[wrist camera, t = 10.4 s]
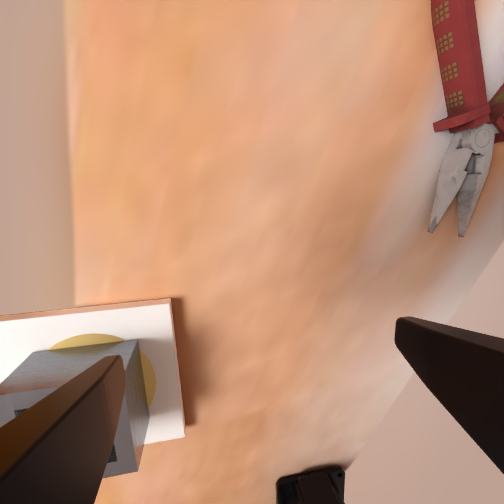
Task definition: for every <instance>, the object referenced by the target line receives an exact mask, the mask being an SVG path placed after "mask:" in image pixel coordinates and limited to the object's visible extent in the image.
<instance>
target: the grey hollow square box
mask: <svg viewBox="0 0 504 504" xmlns="http://www.w3.org/2000/svg"><path fill="white" fill-rule="evenodd" d="M117 354H118V355H121V356H122V359H123V365H124V371H125V377H126V388H125V393H124V397H123V402H122V407H121V412H120V417H119V421H118V426H117V431H116V435H115V440H114V443H113V446H112V450H111V453H110V456H109V459H108V462H107V465H106V468H105V471H104V474H103V478H107V477H112V476H117V475H122V474H127V473H132V472H137V471H138V469H139V464H140V460H141V455H142V451H143V446H144V442H145V437H146V433H147V428H148V423H149V419H150V416H149V410H148V403H147V396H146V390H145V383H144V376H143V369H142V363H141V356H140V349H139V343H138V339H134V340H126V341H118V342H110V343H102V344H93V345H85V346H77V347H69V348H61V349H53V350H45V351H37V352H32V353H31V354H30V355H29V356H28V357H27V358H26V359H25V360H24V361H23V362H22V363H21V364H20V365H19V366H18V367H17V368H16V369H15V370H14V371H13V372H12V373H11V374H10V375H9V376H8V377H7V378H6V379H5V380H4V381H3V382H2V383H1V384H0V427H2V426H3V425H5V424H6V423H8V422H9V421H11V420H12V419H14V418H15V417H16V416H18V415H19V414H21V413H22V412H24V411H25V410H27V409H28V408H30V407H31V406H33V405H34V404H36V403H37V402H39V401H40V400H42V399H43V398H45V397H46V396H47V395H49V394H50V393H52V392H53V391H55V390H56V389H58V388H59V387H61V386H62V385H64V384H65V383H67V382H68V381H70V380H71V379H73V378H74V377H76V376H77V375H78V374H80V373H81V372H83V371H84V370H86V369H87V368H89V367H90V366H92V365H93V364H95V363H96V362H98V361H99V360H101V359H102V358H104V357H105V356H110V355H117Z"/></svg>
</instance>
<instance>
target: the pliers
mask: <svg viewBox="0 0 504 504" xmlns="http://www.w3.org/2000/svg"><path fill="white" fill-rule="evenodd" d="M431 13H432V24H433V31H434V37H435V43H436V49H437V55H438V60H439V66H440V72H441V78H442V84H443V90H444V96H445V101H446V107H447V113H448V117H447V118H444V119H442V120H440V121H437V122H435V123H433V126H434V131H435V132H437V131H441V130H445V129H449V131H450V133H454V132H455V134H454V136H453V138H452V140H451V143H450V145H449V148H448V150H447V152H446V155H445V157H444V160H443V163H442V165H441V169H440V172H439V177H438V182H437V187H436V192H435V197H434V202H433V207H432V213H431V218H430V223H429V228H428V232H430V233H433V231H434V229H435V228H436V226H437V224H438V223H439V221H440V220H441V218H442V216H443V215H444V213H445V211H446V210H447V208H448V207H449V205H450V203H451V202H452V200H453V199H454V197H455V195H456V194H457V200H458V236H459V237H464V234H465V232H466V229H467V227H468V224H469V222H470V219H471V217H472V214H473V211H474V209H475V206H476V204H477V201H478V199H479V196H480V194H481V191H482V189H483V186H484V183H485V181H486V178H487V175H488V172H489V168H490V164H491V159H492V153H493V146H494V143H496V142H503V141H504V83H503V85H502V86H501V87H500V88H499V90H498V91H497V92H496V94H495V95H494V96H493V97H492V99H491V100H490V101H489V103H487V95H486V88H485V80H484V73H483V65H482V58H481V50H480V43H479V35H478V28H477V20H476V13H475V5H474V0H431ZM466 166H467V168H466ZM465 169H466V170H465Z"/></svg>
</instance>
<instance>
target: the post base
mask: <svg viewBox="0 0 504 504" xmlns="http://www.w3.org/2000/svg"><path fill="white" fill-rule="evenodd" d="M134 339H138V343H139V349H140V356H141V363H142V369H143V376H144V383H145V390H146V396H147V403H148V410H149V416H150V419H149V423H148V428H147V433H146V437H145V442H144V444H149V443H154V442H160V441H165V440H171V439H176V438H182V437H185V418H184V409H183V401H182V392H181V383H180V375H179V366H178V357H177V348H176V340H175V331H174V322H173V314H172V305H171V298H166V299H156V300H146V301H136V302H127V303H117V304H107V305H98V306H88V307H78V308H70V309H69V308H68V309H59V310H50V311H40V312H30V313H20V314H11V315H2V316H0V383H2V382H3V381H4V380H5V379H6V378H7V377H8V376H9V375H10V374H11V373H12V372H13V371H14V370H15V369H16V368H17V367H18V366H19V365H20V364H21V363H22V362H23V361H24V360H25V359H26V358H27V357H28V356H29V355H30V354H31V353H32V352H37V351H45V350H53V349H61V348H69V347H77V346H85V345H93V344H102V343H110V342H118V341H126V340H134Z"/></svg>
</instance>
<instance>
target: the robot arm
mask: <svg viewBox="0 0 504 504" xmlns="http://www.w3.org/2000/svg"><path fill="white" fill-rule="evenodd" d="M395 344H396V346H397V348H398V349H399V351H400V352H401V353H402V355H403V356H404V357H405V359H406V360H407V362H408V363H409V364H410V366H411V367H412V368H413V370H414V371H415V372H416V374H417V375H418V376H419V378H420V379H421V380H422V382H423V383H424V384H425V385H426V387H427V388H428V389H429V390H430V391H431V392H432V394H433V395H434V396H435V397H436V398H437V399H438V400H439V401H440V403H441V404H442V405H443V406H444V407H445V408H446V409H447V410H448V412H449V413H450V414H451V415H452V416H453V417H454V418H455V420H456V421H457V422H458V423H459V424H460V425H461V426H462V428H463V429H464V430H465V431H466V432H467V433H468V434H469V435H470V437H471V438H472V439H473V440H474V441H475V442H476V443H477V445H478V446H479V447H480V448H481V449H482V450H483V451H484V452H485V453H486V455H487V456H488V457H489V458H490V459H491V460H492V461H493V463H494V464H495V465H496V466H497V467H498V468H499V469H500V471H501V472H502V473H503V474H504V339H503V338H499V337H494V336H490V335H486V334H482V333H478V332H473V331H469V330H465V329H461V328H457V327H452V326H448V325H444V324H440V323H435V322H431V321H427V320H423V319H419V318H414V317H400V318H398V319H397V321H396V328H395ZM125 388H126V377H125V371H124V365H123V359H122V356H121V355H118V354H117V355H110V356H105V357H104V358H102V359H101V360H99V361H98V362H96V363H95V364H93V365H92V366H90V367H89V368H87V369H86V370H84V371H83V372H81V373H80V374H78V375H77V376H76V377H74V378H73V379H71V380H70V381H68V382H67V383H65V384H64V385H62V386H61V387H59V388H58V389H56V390H55V391H53V392H52V393H50V394H49V395H47V396H46V397H45V398H43V399H42V400H40V401H39V402H37V403H36V404H34V405H33V406H31V407H30V408H28V409H27V410H25V411H24V412H22V413H21V414H19V415H18V416H16V417H15V418H14V419H12V420H11V421H9V422H8V423H6V424H5V425H3V426H2V427H0V504H94V502H95V499H96V496H97V493H98V490H99V487H100V484H101V481H102V478H103V474H104V471H105V468H106V465H107V462H108V459H109V456H110V453H111V450H112V446H113V443H114V440H115V435H116V431H117V426H118V421H119V417H120V412H121V407H122V402H123V397H124V393H125ZM344 481H345V472H344V470H343V468H342V467H340V466H338V467H334V468H329V469H324V470H320V471H315V472H311V473H306V474H302V475H297V476H293V477H288V478H284V479H280V480H278V481H277V482H276V504H345V503H344Z"/></svg>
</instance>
